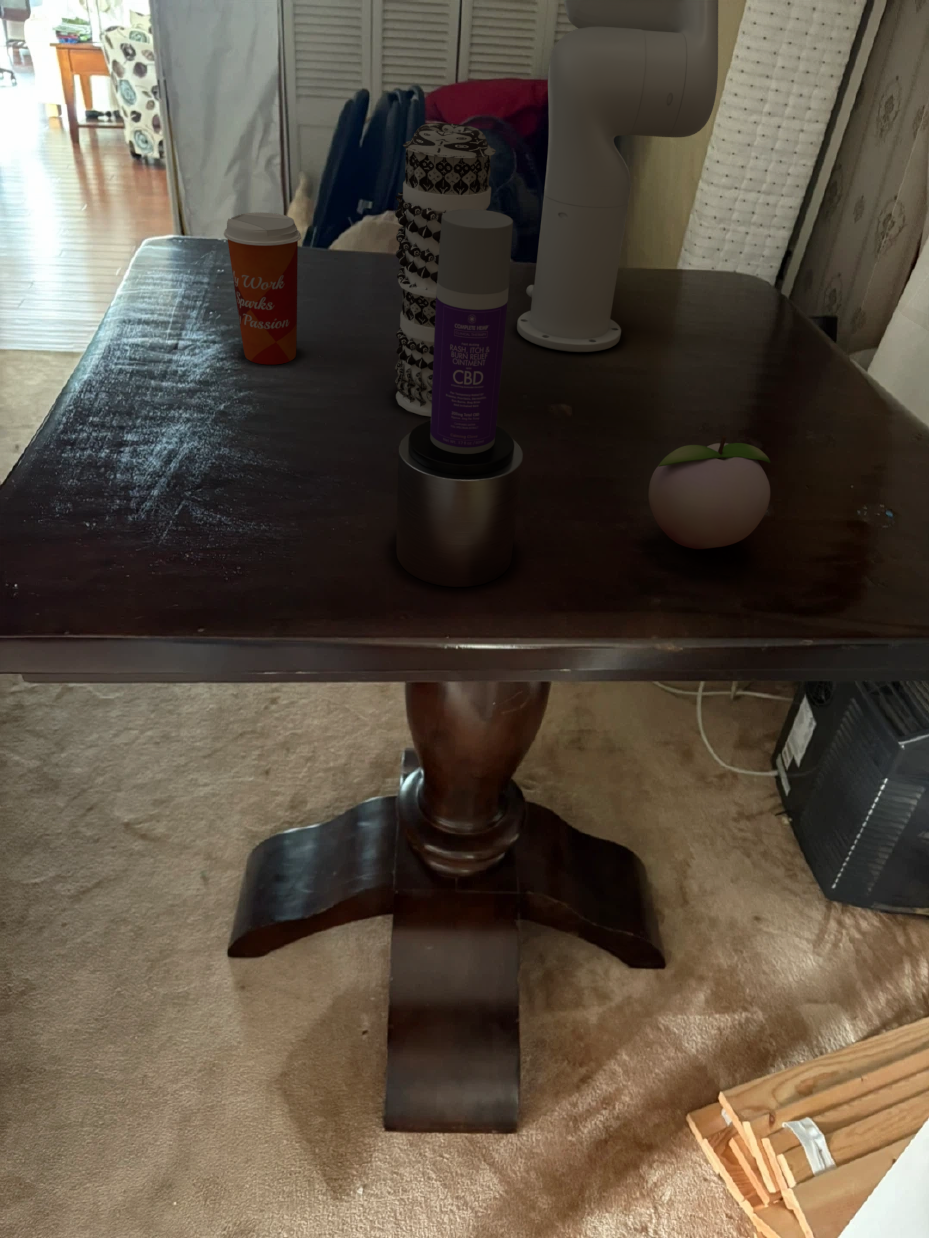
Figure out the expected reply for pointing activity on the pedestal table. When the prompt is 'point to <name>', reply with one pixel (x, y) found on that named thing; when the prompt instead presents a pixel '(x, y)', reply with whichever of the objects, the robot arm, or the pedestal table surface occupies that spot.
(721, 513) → the decorative fruit
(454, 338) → the container
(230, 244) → the paper cup
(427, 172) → the decorative candle
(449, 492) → the lidded metal canister
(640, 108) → the robot arm
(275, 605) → the pedestal table surface
